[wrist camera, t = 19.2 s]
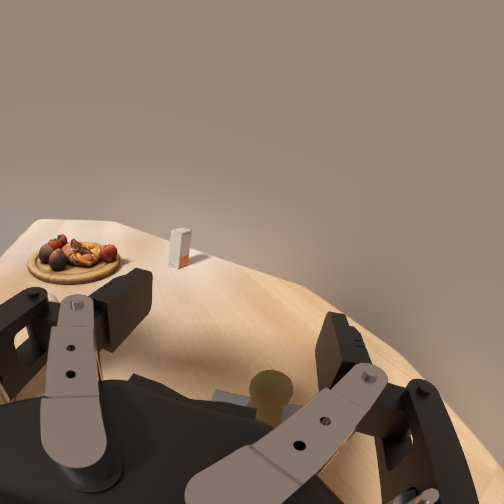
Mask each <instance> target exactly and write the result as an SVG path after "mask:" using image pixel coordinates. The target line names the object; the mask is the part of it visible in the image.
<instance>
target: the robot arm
mask: <svg viewBox="0 0 504 504" xmlns="http://www.w3.org/2000/svg"><path fill="white" fill-rule="evenodd" d="M152 280H153V276H152V272H150V271H147V270H143V269H139V268H135V269H133V270H132V271H130V272H129V273H128V274H126V275H122V276H119V277H116V278H114V279H112V280H111V281H110V282H109V283H107V284H105V285H104V286H103V287H101V288H99V289H98V290H96V291H95V292H93V293H92V294H91V295H89V296H86V295H80V294H76V295H70V296H67V297H65V298H64V299H63V300H62V301H61V303H58V302H52V301H49V300H48V293H47V291H46V290H45V289H43V288H40V287H31V288H27V289H25V290H23V291H21V292H20V293H18V294H17V295H15V296H14V297H12V298H10V299H9V300H7V301H6V302H4V303H3V304H1V305H0V504H344V503H343V502H342V501H341V500H340V499H339V498H338V497H337V496H336V495H335V494H334V492H333V491H332V490H331V489H330V488H329V487H328V486H327V485H326V484H325V483H324V482H323V481H322V479H321V478H320V477H319V476H318V475H319V474H320V473H321V472H322V471H323V470H324V469H325V468H326V466H327V465H328V464H329V463H330V462H331V461H332V460H333V458H334V457H335V456H336V455H337V454H338V453H339V451H340V450H341V449H342V448H343V447H344V446H345V444H346V443H347V442H348V441H349V439H350V438H351V437H352V436H353V434H354V433H355V432H360V433H363V434H367V435H370V436H374V439H375V445H376V452H377V460H378V468H379V476H380V486H381V497H382V504H479V501H478V497H477V493H476V490H475V486H474V483H473V480H472V476H471V473H470V470H469V467H468V464H467V461H466V458H465V455H464V453H463V450H462V447H461V445H460V442H459V439H458V437H457V434H456V432H455V429H454V427H453V424H452V422H451V419H450V417H449V415H448V412H447V410H446V408H445V406H444V403H443V401H442V399H441V397H440V395H439V392H438V391H437V389H436V388H435V387H434V385H432V384H431V383H430V382H428V381H425V380H422V379H413V380H411V381H410V382H409V383H408V385H407V386H406V388H404V387H401V386H397V385H394V384H391V383H388V377H387V375H386V373H385V372H384V371H383V370H382V369H381V368H379V367H377V366H375V365H373V364H372V362H371V360H370V357H369V354H368V352H367V349H366V348H365V347H366V346H365V344H364V342H363V339H362V336H361V334H360V333H359V332H358V330H357V329H356V328H355V327H353V326H349V324H348V321H347V318H346V315H345V314H341V313H335V312H328V313H327V315H326V317H325V320H324V323H323V326H322V329H321V332H320V335H319V338H318V340H317V344H316V349H315V357H316V366H317V376H318V386H319V393H318V394H317V395H316V396H315V397H314V398H312V399H311V400H310V401H309V402H308V403H306V404H305V405H304V406H303V407H302V408H301V409H299V410H298V411H297V412H296V413H294V414H293V415H292V416H291V417H289V418H288V419H287V420H286V421H284V422H283V423H282V424H280V425H279V426H278V427H276V428H274V427H273V426H271V425H270V424H268V423H266V422H264V421H262V420H260V419H258V418H256V413H257V409H256V408H251V407H246V406H241V405H237V404H232V403H228V402H220V401H205V400H193V399H189V398H187V397H185V396H183V395H181V394H179V393H177V392H175V391H174V390H172V389H170V388H168V387H166V386H165V385H163V384H161V383H158V382H156V381H153V380H150V379H147V378H144V377H142V376H139V375H136V374H134V373H133V375H132V376H131V377H130V379H129V380H128V381H126V380H104V379H103V372H102V365H101V357H100V351H101V349H104V350H107V351H109V352H111V353H113V352H114V351H115V349H116V348H117V347H118V346H119V345H120V344H121V343H122V342H123V341H124V340H125V339H126V337H127V336H128V335H129V334H130V333H131V332H132V331H133V330H134V329H135V328H136V327H137V326H138V324H139V323H140V322H141V321H142V320H143V319H144V318H145V317H146V316H147V315H148V313H149V312H150V309H151V305H152ZM25 326H26V328H27V332H28V335H29V338H28V339H27V340H26V341H25V342H23V343H22V344H21V345H20V346H19V347H18V348H17V349H15V346H14V338H15V335H16V334H17V333H18V332H19V331H20V330H22V329H23V328H24V327H25ZM46 363H47V369H46V384H45V395H44V396H40V397H35V398H31V399H26V400H21V401H16V402H13V401H14V399H15V396H16V395H17V394H18V393H19V392H20V391H21V390H22V389H23V387H24V386H25V385H26V384H27V383H28V382H29V381H30V380H31V379H32V378H33V377H34V376H35V375H36V374H37V372H38V371H39V370H40V369H41V368H42V367H43V366H44V365H45V364H46ZM411 434H412V437H413V444H412V440H411V437H410V435H411Z"/></svg>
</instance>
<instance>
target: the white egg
mask: <svg viewBox="0 0 504 504" xmlns="http://www.w3.org/2000/svg"><path fill="white" fill-rule="evenodd" d="M48 300H49V301H52V302H58V303H59V301H58V299H57V298H56V297H55V296H54V295H52V294H49V293H48Z"/></svg>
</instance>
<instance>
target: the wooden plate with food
mask: <svg viewBox="0 0 504 504" xmlns="http://www.w3.org/2000/svg"><path fill="white" fill-rule="evenodd" d="M119 263H120V258H119V256H118V254H117V249H116V248H115V246H114V245H105V246H104V245H100V244H97V243H88V242H77V241H76V240H75V239H72V240H71V242H67V238H66V236H65V235H63V234H62V235H58V238H57V239H54V240H50V242H48V243H47V244H45V245H43V246H42V247H41V249H40V250H38V251H36V252H35V253H34V254H32V255H31V257H30V258H29V260H28V270H29V271H30V273H31V274H32V275H33V276H34V277H36V278H37V279H39V280H42V281H44V282H48V283H53V284H61V285H74V284H82V283H88V282H92V281H96V280H99V279H102V278H104V277H106V276H108V275H110V274H112V273H113V272H114V271H115V270H116V269H117V268H118V266H119Z"/></svg>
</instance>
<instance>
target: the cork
mask: <svg viewBox="0 0 504 504" xmlns="http://www.w3.org/2000/svg"><path fill="white" fill-rule="evenodd" d="M249 390H250V396H251V398H250V400H249V402H248V404H247V406H246V407H251V408H256V409H257V413H256V418H258V419H260V420H262V421H264V422H266V423H268V424H270V425H271V426H273V427H274V428H276V427H278V426H279V425H280V423H281V418H282V412H283V407H284V405H286V404H287V403H288V402H289V400H290V399H291V397H292V394H293V385H292V382H291V380H290V379H289V378H288V376H286V375H285V374H283V373H281V372H279V371H274V370H266V371H262V372H260V373H258V374H257V375H256V376H255V377H254V378H253V379H252V381H251V384H250V388H249Z"/></svg>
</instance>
